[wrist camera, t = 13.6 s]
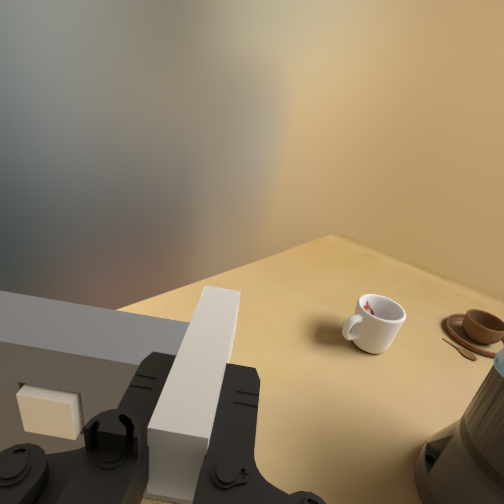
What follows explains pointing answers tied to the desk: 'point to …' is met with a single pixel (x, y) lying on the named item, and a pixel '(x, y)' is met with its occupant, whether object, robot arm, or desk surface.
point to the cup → (374, 323)
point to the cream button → (50, 411)
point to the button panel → (74, 360)
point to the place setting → (477, 331)
